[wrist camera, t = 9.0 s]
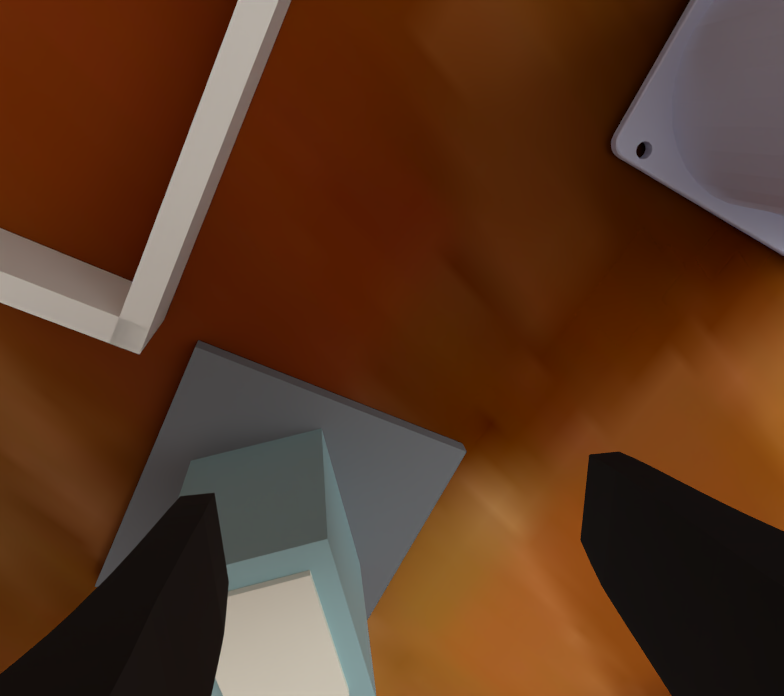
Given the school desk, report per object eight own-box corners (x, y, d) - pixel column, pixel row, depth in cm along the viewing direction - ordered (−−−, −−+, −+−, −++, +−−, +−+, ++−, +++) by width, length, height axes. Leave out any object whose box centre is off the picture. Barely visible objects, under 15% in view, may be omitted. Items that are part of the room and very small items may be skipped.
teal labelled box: (321, 428, 20) (327, 544, 15) (360, 564, 23) (377, 709, 17) (190, 460, 20) (147, 590, 14) (242, 594, 22) (222, 751, 17)
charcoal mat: (462, 443, 22) (466, 452, 21) (346, 640, 25) (348, 652, 24) (198, 340, 19) (195, 346, 19) (99, 574, 22) (94, 586, 21)
